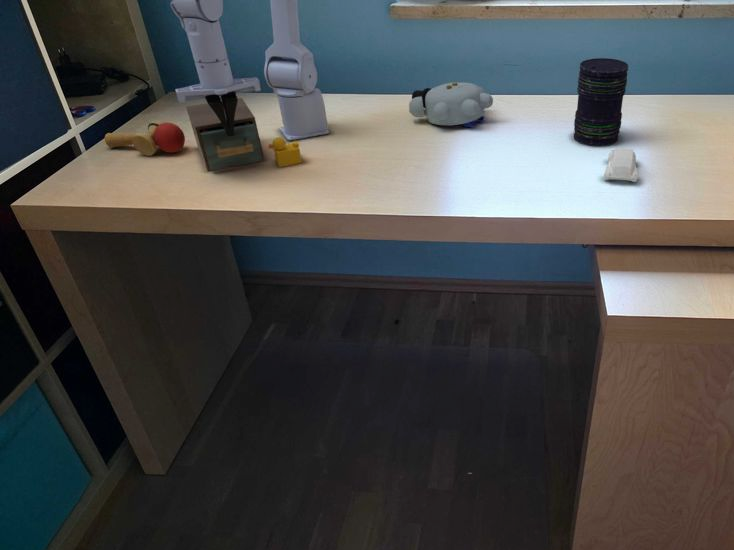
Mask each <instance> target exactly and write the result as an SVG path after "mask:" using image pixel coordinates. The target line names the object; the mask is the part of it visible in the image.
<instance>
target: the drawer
mask: <svg viewBox="0 0 734 550" xmlns="http://www.w3.org/2000/svg"><path fill="white" fill-rule="evenodd" d="M200 132H201V133H200V134H201V137H202V141H203V144H204V148H205V151H206V155H207V158H208V162H209V165H210V169H211V170H210V171H215V170H221V169H226V168H232V167H237V166H243V165H246V164H247V165H248V164H253V163H258V162H263V161H264V160H263V159H262V154H261V150H260V146H259V141H258V137H257V132H256V128H255V125H254V124H250V123H249V122H244V123H238V124H234V133H235V135H234V136H229V137H227V135H226V133H225V130H224V127H223V126H220V127H214V128H208V129H202V130H200Z"/></svg>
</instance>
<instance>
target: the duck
mask: <svg viewBox="0 0 734 550" xmlns="http://www.w3.org/2000/svg"><path fill="white" fill-rule="evenodd" d="M267 146H268V148H269V149H272V150H273V153H274V158H275V162H276V164H277V165H278V166H279V168H283V167H288V166H292V165H297V164H302V163H303V160H302V155H301V149H300V144H299V142H298V141H297V140H292V141H291V143H288V144H286V141H285V139H284V138H282V137H275V138H274V139H273V140H272V143H270V144H268V145H267Z"/></svg>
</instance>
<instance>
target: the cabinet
mask: <svg viewBox="0 0 734 550" xmlns="http://www.w3.org/2000/svg"><path fill="white" fill-rule="evenodd" d="M237 99H238V102H237V107H236V111H235V118H234V124H238V123H244V122H249V123H250V124H254V125H255V128H256V132H257V137H258V141H259V146H260V150H261V154H262V159H263V161H265V156H264V152H263V148H262V147H263V146H262V144H261V138H260V134H259V130H258V126H257V125H258V124H257V120H256V117H255V115H254V114H253V112H252V111H251V109H250V108H249V106H248V105H247V103H246V102H245V100H244V99H243V97H239V98H238V97H237ZM185 108H186V111H187V115H188V118H189V122H190V125H191V128H192V132H193V135H194V139H195V143H196V145H197V149H198V152H199V153H200V156H201V158H202V159H201V160H202V161H203V163H204V166H205V168H206V171H207V172H210V171H212V170H211V169H210V165H209V162H208V158H207V155H206V151H205V148H204V144H203V141H202V137H201V134H200V133H201V132H200V130H202V129H208V128H214V127H220V126H223V125H222V123H221V121H220V120H219V118H218V117H217V115H216V114H215V112H214V111H213V110H212V108H211V107H210V106H209V105H208V103H207V102H206V103H199V104H194V105H187V106H186V107H185ZM224 112H225V111H224ZM225 116H226V114H225Z"/></svg>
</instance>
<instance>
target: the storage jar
mask: <svg viewBox="0 0 734 550" xmlns="http://www.w3.org/2000/svg"><path fill="white" fill-rule="evenodd" d="M628 71H629V64H628V63H627V62H626V61H623V60H620V59H616V58H607V57H599V58H598V57H597V58H590V59H585V60H582V61H581V62H580V63H579V73H578V78H577V94H578V95H577V106H576V110H575V113H574V121H573V130H574V133H573V140H574V141H575V142H576V143H578V144H580V145H584V146H589V147H608V146H613V145H614V144H616V143H618V141H619V139H620V138H619V137H620V136H619V134H620V130H621V128H622V118H623V113H622V109H623V100H624V97H625V94H626V92H627V90H626V89H627V88H626V87H627V83H628Z"/></svg>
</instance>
